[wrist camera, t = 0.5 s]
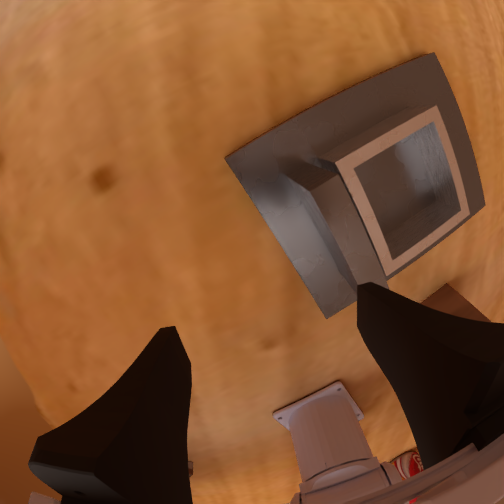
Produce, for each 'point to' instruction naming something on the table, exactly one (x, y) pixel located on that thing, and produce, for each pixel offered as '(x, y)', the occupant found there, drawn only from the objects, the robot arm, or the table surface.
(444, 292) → the rail post
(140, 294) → the table surface
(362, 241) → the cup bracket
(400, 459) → the soda can
